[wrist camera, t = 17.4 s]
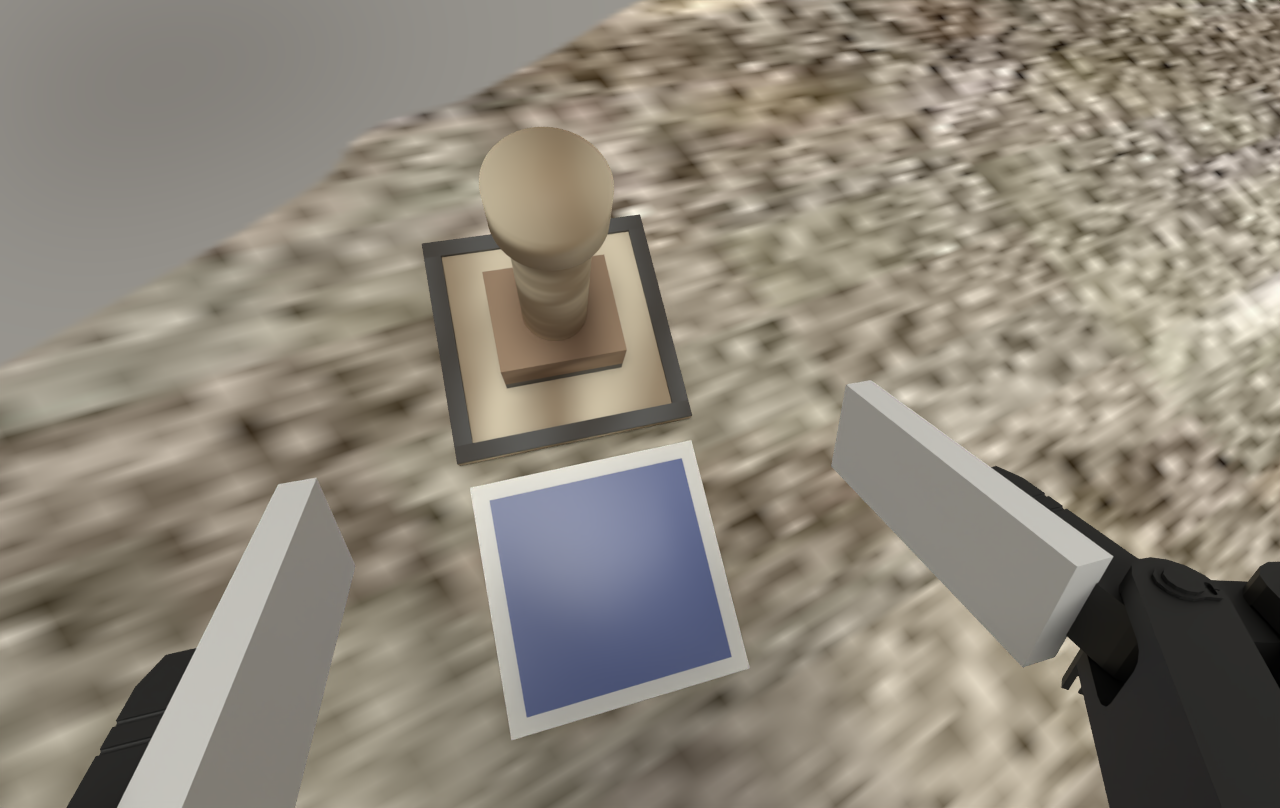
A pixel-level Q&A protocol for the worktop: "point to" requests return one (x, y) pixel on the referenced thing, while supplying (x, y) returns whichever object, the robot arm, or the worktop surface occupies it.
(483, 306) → the marked board
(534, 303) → the stamp
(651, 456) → the ink pad
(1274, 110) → the worktop surface
